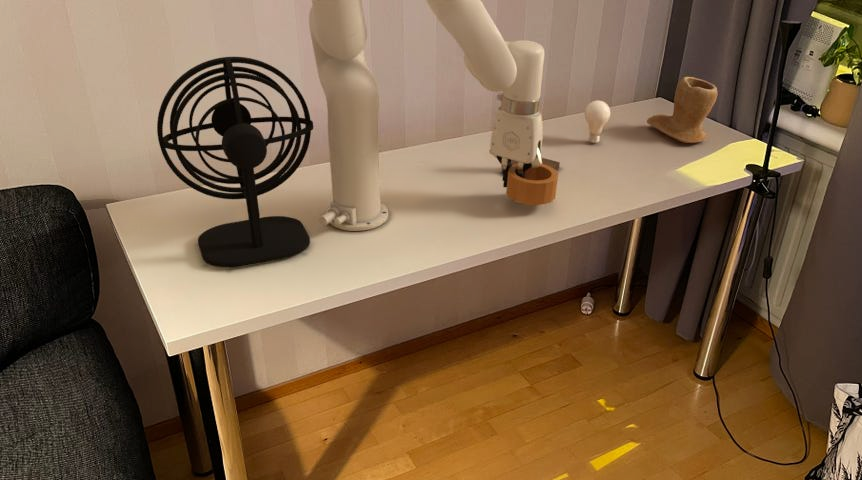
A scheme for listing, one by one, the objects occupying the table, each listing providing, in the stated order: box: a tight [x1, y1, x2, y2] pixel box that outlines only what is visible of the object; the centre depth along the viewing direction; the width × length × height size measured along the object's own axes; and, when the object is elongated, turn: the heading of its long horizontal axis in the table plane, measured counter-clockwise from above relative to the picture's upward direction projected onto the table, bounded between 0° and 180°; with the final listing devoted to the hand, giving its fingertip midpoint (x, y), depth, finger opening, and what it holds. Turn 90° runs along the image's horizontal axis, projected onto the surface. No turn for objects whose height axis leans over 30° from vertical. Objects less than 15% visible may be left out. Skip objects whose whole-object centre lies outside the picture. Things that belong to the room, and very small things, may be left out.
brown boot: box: [646, 76, 718, 144], centre depth 201 cm, size 15×12×15 cm
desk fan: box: [156, 56, 314, 269], centre depth 141 cm, size 27×18×35 cm, turn 115°
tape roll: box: [505, 164, 559, 206], centre depth 165 cm, size 10×10×5 cm
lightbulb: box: [584, 99, 612, 144], centre depth 195 cm, size 6×6×11 cm
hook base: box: [501, 157, 560, 175], centre depth 182 cm, size 10×10×2 cm
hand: (512, 186), depth 168 cm, fingers closed on tape roll
